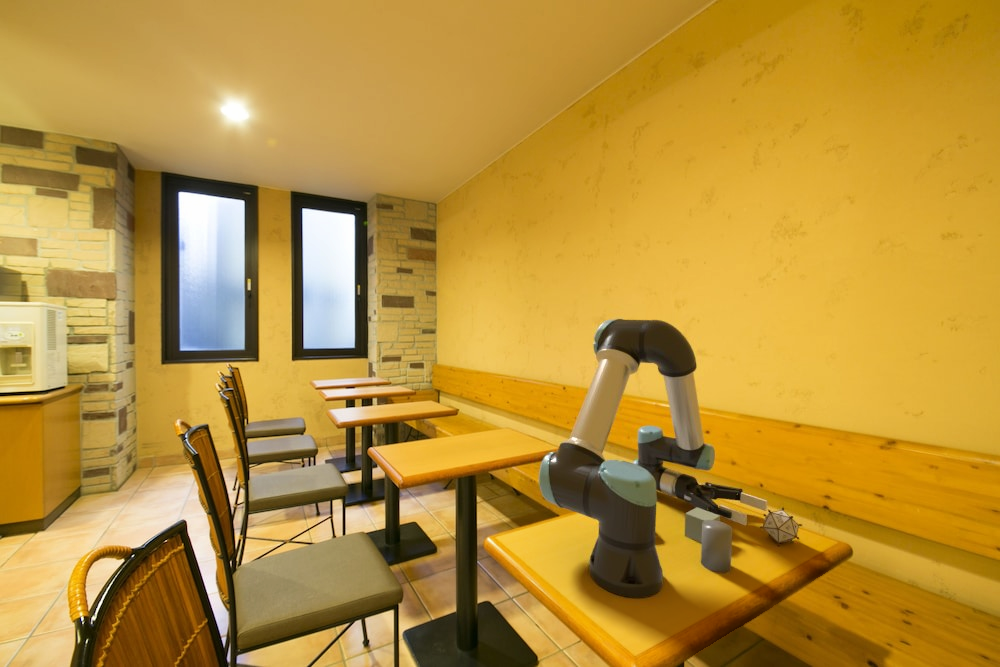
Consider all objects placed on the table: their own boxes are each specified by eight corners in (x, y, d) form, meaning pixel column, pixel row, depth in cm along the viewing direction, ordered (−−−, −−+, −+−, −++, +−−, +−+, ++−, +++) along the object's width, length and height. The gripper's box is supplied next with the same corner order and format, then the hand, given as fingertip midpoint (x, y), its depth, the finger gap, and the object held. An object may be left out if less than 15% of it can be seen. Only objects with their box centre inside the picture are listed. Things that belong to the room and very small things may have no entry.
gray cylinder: (695, 563, 96) (697, 524, 96) (708, 554, 100) (709, 517, 100) (723, 576, 92) (724, 535, 91) (735, 566, 95) (736, 527, 95)
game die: (788, 559, 105) (815, 540, 99) (754, 543, 107) (778, 523, 101) (783, 528, 112) (807, 508, 106) (750, 513, 114) (772, 493, 108)
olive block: (684, 536, 109) (685, 513, 109) (696, 529, 112) (696, 507, 112) (708, 546, 104) (708, 522, 104) (719, 538, 108) (720, 515, 108)
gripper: (698, 488, 136) (773, 513, 120) (656, 508, 120) (735, 541, 104) (700, 465, 136) (774, 487, 119) (658, 482, 120) (737, 511, 104)
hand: (756, 512), depth 112 cm, fingers open, 13 cm apart
